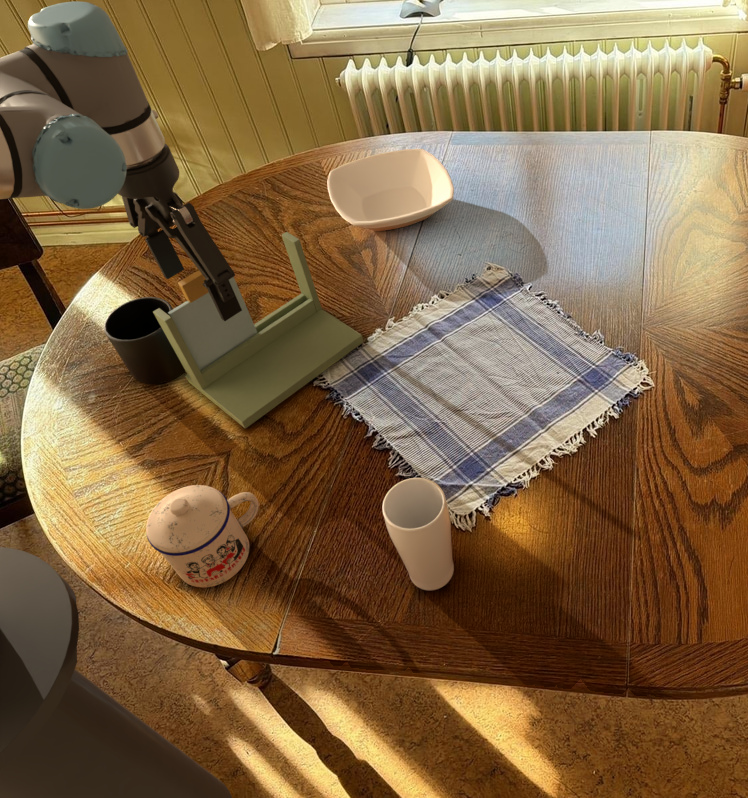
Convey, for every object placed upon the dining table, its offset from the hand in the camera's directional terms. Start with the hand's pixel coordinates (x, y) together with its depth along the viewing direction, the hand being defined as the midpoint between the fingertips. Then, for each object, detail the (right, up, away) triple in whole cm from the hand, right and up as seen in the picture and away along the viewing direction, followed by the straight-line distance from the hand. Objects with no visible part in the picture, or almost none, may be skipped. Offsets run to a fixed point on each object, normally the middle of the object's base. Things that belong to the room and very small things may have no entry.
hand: (202, 293), depth 101 cm
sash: (0, -8, +10) cm, 13 cm away
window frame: (+6, -9, +11) cm, 16 cm away
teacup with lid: (+7, -33, -9) cm, 35 cm away
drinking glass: (+33, -35, -12) cm, 50 cm away
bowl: (+19, +21, +37) cm, 46 cm away
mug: (-12, -8, +13) cm, 19 cm away
